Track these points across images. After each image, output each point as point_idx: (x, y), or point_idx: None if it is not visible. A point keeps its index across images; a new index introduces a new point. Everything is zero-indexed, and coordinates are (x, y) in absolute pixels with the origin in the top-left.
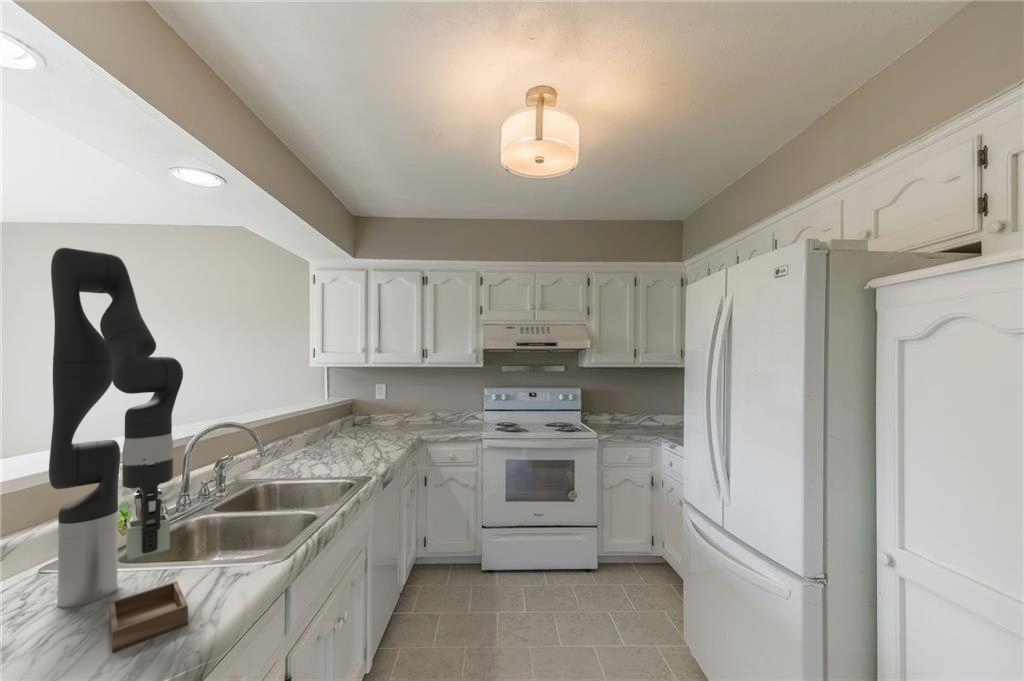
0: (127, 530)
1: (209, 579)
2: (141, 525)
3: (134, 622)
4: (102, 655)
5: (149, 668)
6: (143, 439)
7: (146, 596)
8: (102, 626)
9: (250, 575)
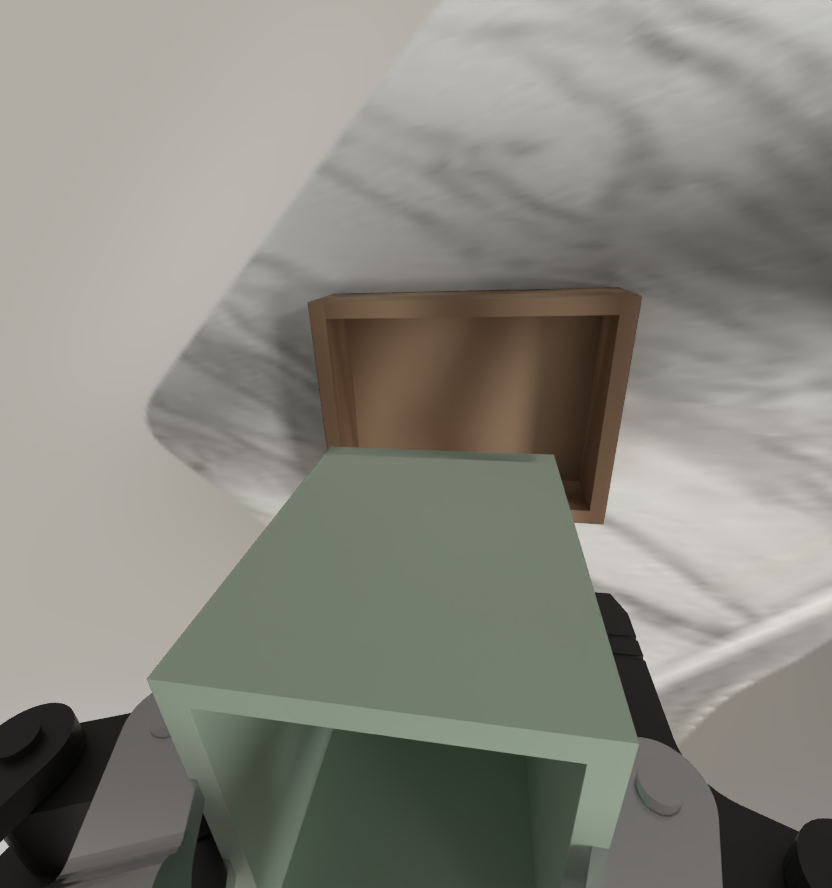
0: (352, 637)
1: (653, 583)
2: (150, 789)
3: (480, 362)
4: (351, 266)
5: (188, 371)
6: None
7: (598, 420)
8: (595, 264)
9: None
